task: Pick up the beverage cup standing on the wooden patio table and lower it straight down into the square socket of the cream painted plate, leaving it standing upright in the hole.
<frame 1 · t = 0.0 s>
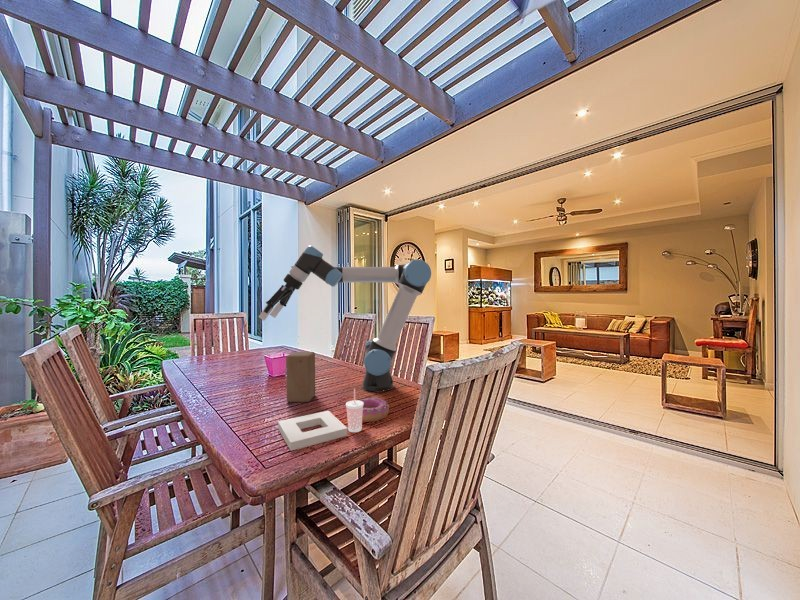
hand: (267, 317, 136), 36 cm above the table, tool tilted 35°, fingers open, 13 cm apart
wooden block: (301, 399, 138), on the table
donut: (370, 416, 119), on the table
socket plate: (311, 432, 105), on the table
beverage cup: (354, 429, 107), on the table
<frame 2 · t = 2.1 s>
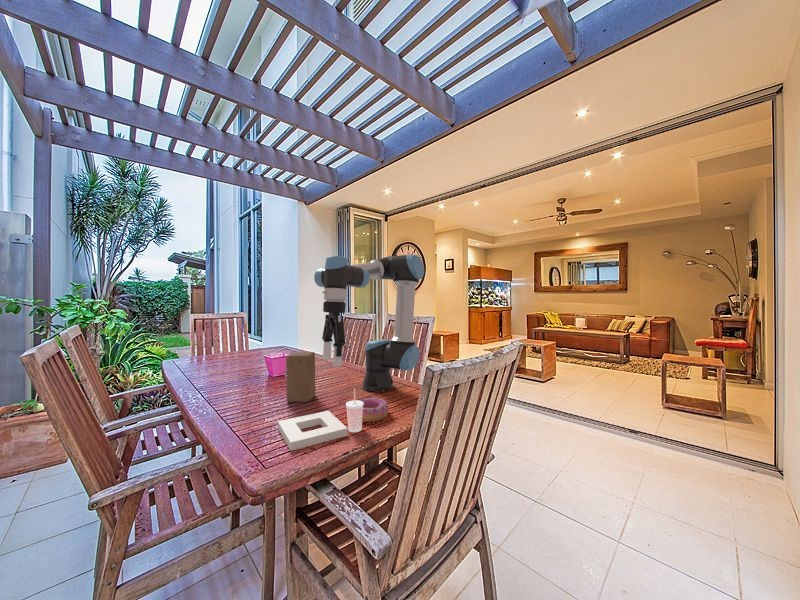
hand: (331, 363, 107), 23 cm above the table, tool pointing down, fingers open, 13 cm apart
nothing on the table moved.
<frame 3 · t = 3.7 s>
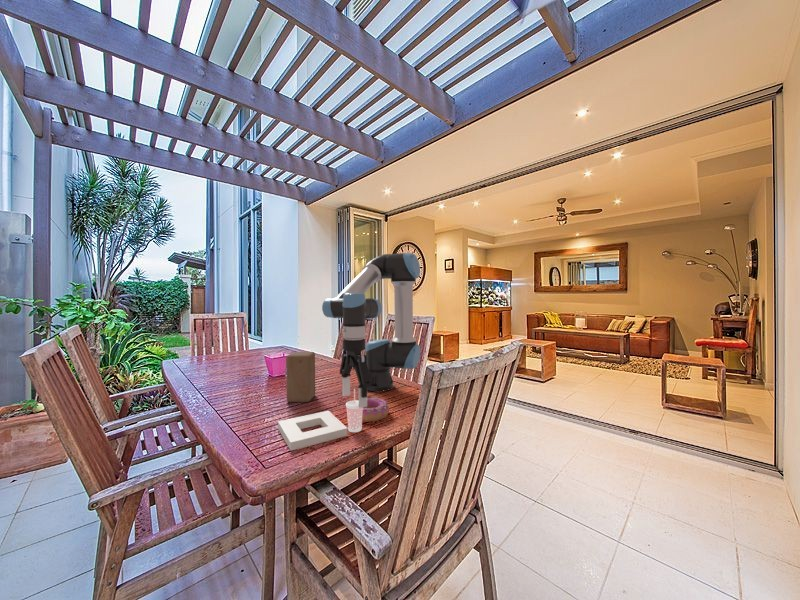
hand: (354, 400, 107), 10 cm above the table, tool pointing down, fingers open, 13 cm apart
nothing on the table moved.
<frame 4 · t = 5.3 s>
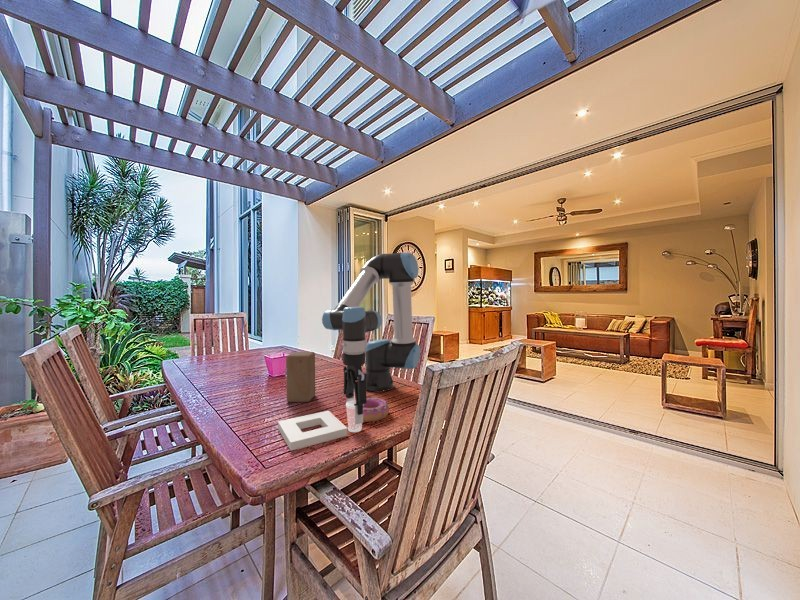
hand: (354, 419, 107), 3 cm above the table, tool pointing down, fingers closed on beverage cup, 6 cm apart
beverage cup: (354, 429, 107), on the table, touching gripper
everything else where it was.
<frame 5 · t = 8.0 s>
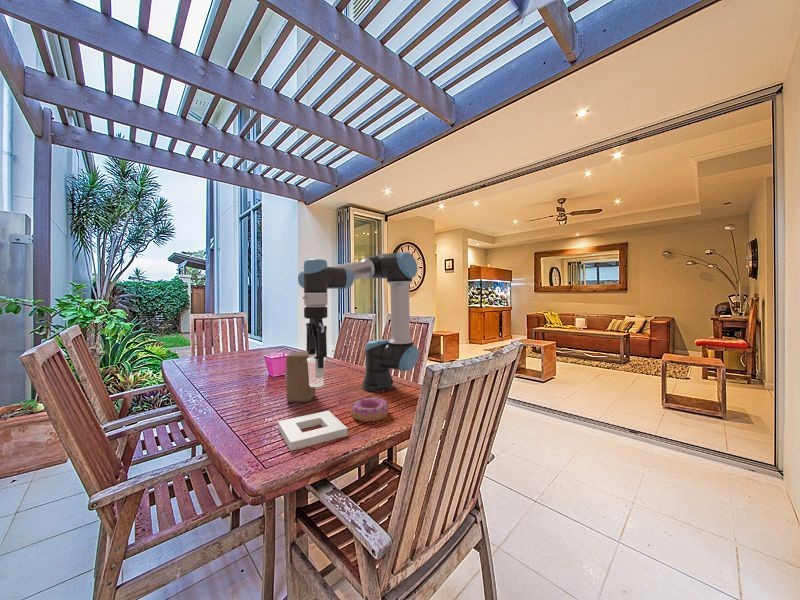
hand: (316, 375, 105), 19 cm above the table, tool pointing down, fingers closed on beverage cup, 6 cm apart
beverage cup: (316, 385, 105), point 16 cm above the table, touching gripper
everything else where it was.
when the fingers open (4 cm above the table, at t = 10.5 s): beverage cup drops 1 cm, resting in socket plate.
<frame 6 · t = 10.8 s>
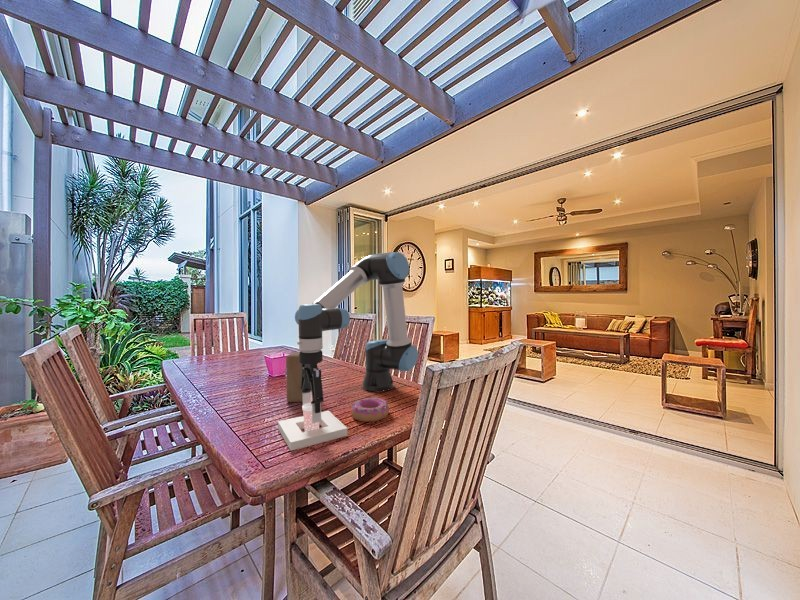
hand: (311, 416, 105), 5 cm above the table, tool pointing down, fingers open, 10 cm apart
beverage cup: (311, 432, 105), resting in socket plate
everything else where it was.
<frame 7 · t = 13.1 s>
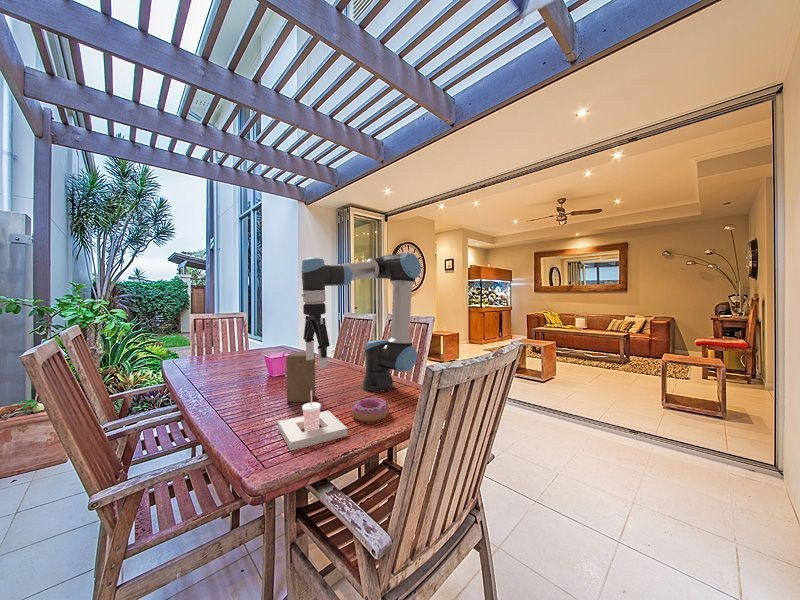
hand: (316, 363, 111), 22 cm above the table, tool pointing down, fingers open, 13 cm apart
nothing on the table moved.
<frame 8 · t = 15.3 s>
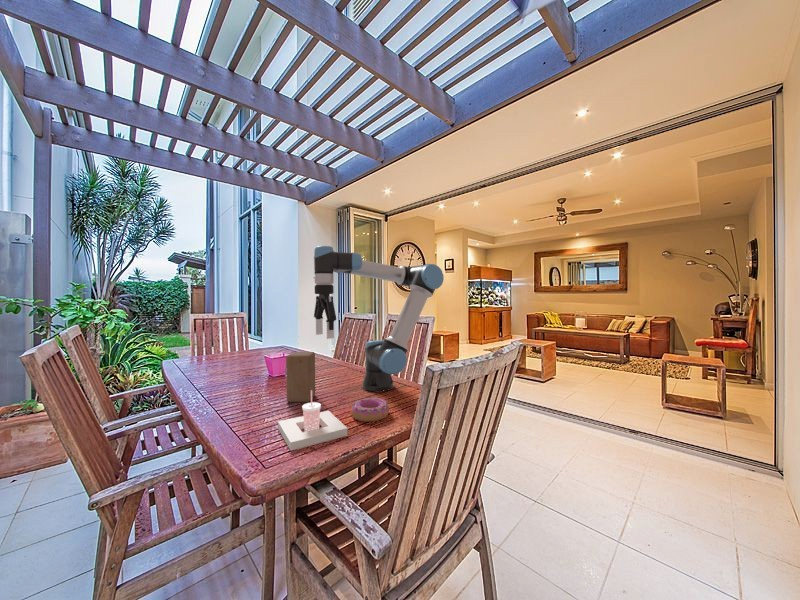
hand: (324, 336, 129), 29 cm above the table, tool pointing down, fingers open, 13 cm apart
nothing on the table moved.
at the end: beverage cup 0.0 cm off-centre on the socket plate, point 0.0 cm above the socket plate's base; beverage cup tilted 0°; the gripper is holding nothing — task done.
